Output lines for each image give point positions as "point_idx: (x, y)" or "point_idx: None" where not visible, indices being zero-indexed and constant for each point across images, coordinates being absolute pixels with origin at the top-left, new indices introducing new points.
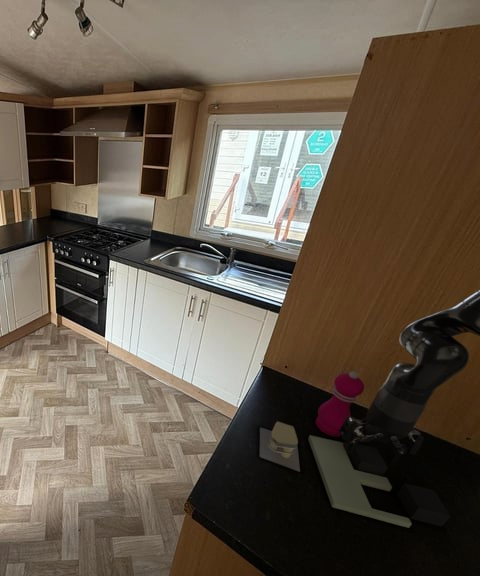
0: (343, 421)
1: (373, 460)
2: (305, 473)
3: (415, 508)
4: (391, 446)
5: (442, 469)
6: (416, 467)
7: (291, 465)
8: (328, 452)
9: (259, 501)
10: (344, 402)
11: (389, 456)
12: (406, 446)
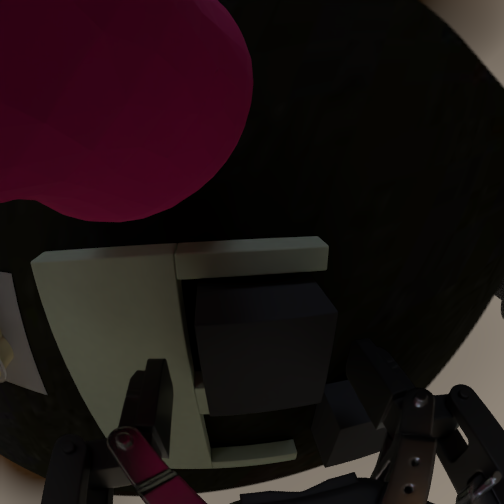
0: (135, 214)
1: (274, 395)
2: (59, 396)
3: (321, 455)
4: (391, 397)
5: (496, 230)
6: (448, 249)
7: (25, 380)
8: (102, 340)
9: (18, 441)
10: None
11: (360, 375)
12: (445, 427)
